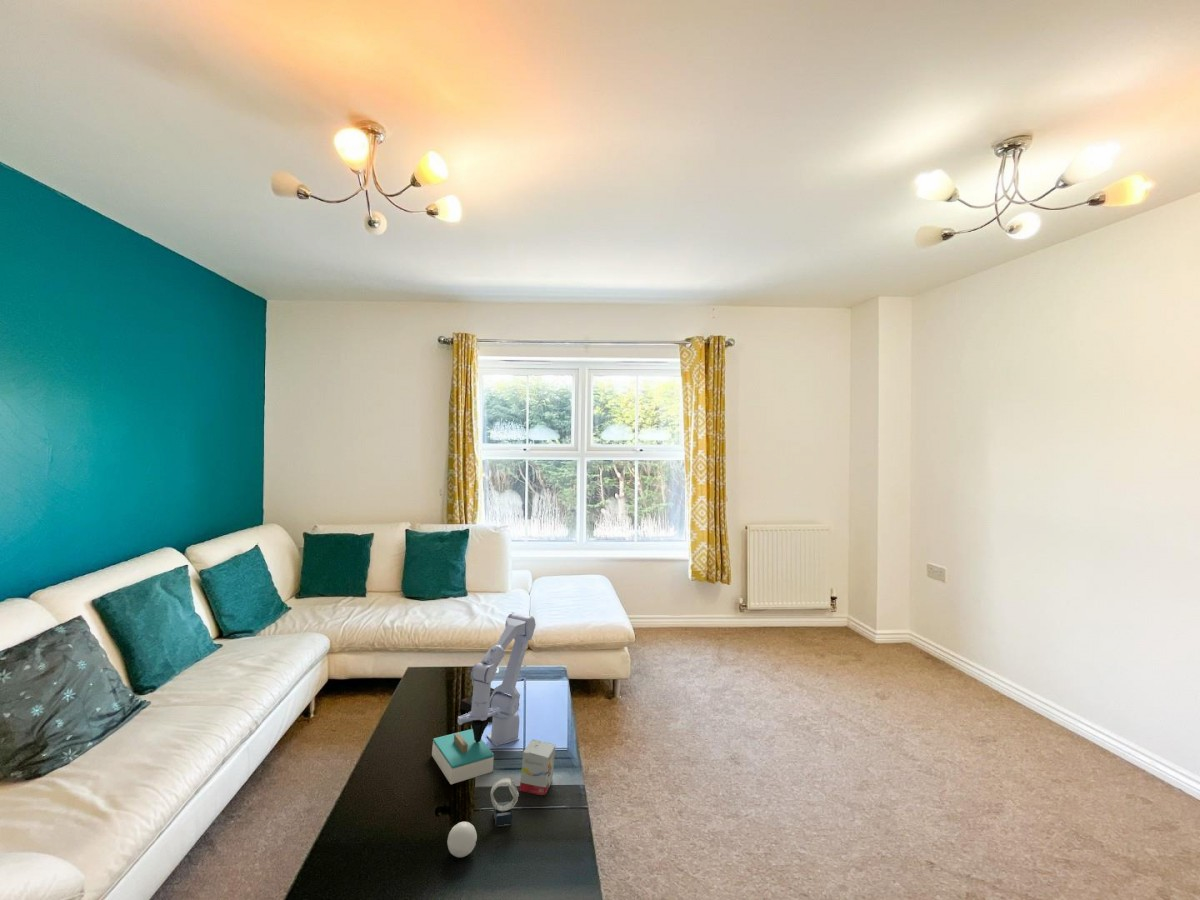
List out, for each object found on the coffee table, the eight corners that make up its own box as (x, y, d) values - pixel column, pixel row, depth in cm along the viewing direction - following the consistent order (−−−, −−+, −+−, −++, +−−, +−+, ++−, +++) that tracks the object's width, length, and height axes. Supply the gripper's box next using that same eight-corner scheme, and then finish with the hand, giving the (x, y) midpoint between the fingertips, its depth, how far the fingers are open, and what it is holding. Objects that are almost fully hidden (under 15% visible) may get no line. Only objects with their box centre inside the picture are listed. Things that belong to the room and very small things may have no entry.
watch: (518, 824, 144) (521, 784, 144) (489, 828, 141) (492, 788, 141) (515, 811, 149) (518, 772, 149) (487, 815, 146) (490, 775, 147)
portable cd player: (519, 708, 212) (519, 698, 212) (489, 724, 197) (490, 713, 198) (490, 696, 221) (490, 686, 221) (459, 710, 206) (460, 700, 206)
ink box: (545, 796, 157) (548, 757, 157) (518, 790, 158) (522, 751, 159) (553, 780, 165) (556, 743, 165) (528, 774, 167) (531, 738, 167)
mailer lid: (472, 730, 182) (473, 721, 182) (493, 756, 167) (494, 746, 167) (433, 740, 173) (433, 731, 173) (452, 768, 159) (453, 757, 159)
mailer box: (471, 744, 181) (472, 731, 182) (492, 771, 167) (493, 756, 167) (431, 755, 173) (433, 741, 173) (450, 784, 159) (452, 769, 159)
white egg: (475, 863, 129) (478, 833, 129) (444, 866, 127) (447, 835, 127) (476, 835, 138) (479, 807, 139) (448, 836, 137) (450, 808, 137)
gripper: (464, 709, 166) (461, 752, 166) (505, 700, 175) (502, 740, 174) (456, 700, 172) (453, 741, 171) (496, 692, 180) (493, 731, 180)
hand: (477, 740), depth 173 cm, fingers closed
